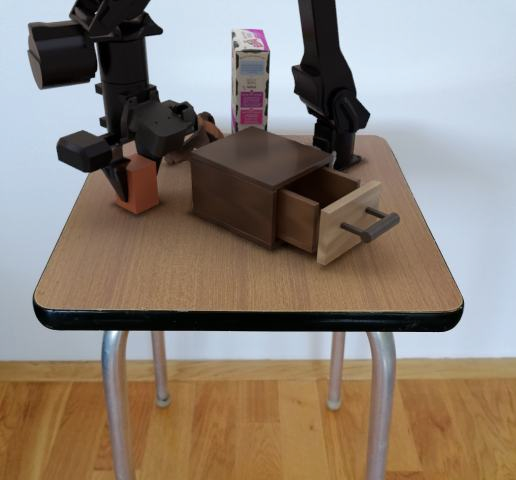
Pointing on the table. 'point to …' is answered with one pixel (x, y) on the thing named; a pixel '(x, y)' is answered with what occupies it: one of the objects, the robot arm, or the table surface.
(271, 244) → the cabinet
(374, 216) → the drawer
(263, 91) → the candy bar box
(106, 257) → the table surface
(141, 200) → the block
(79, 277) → the table surface
